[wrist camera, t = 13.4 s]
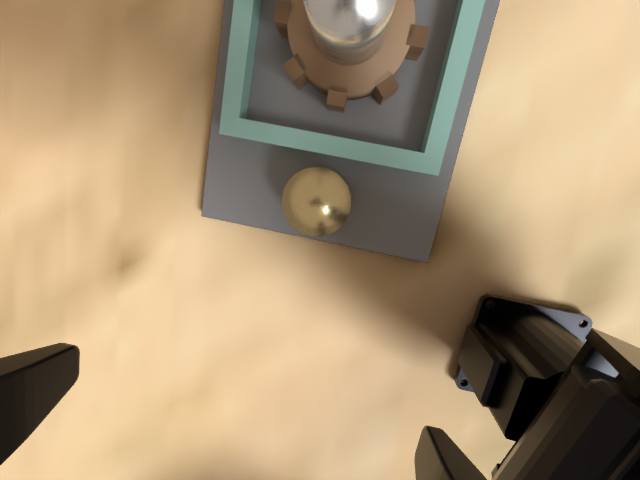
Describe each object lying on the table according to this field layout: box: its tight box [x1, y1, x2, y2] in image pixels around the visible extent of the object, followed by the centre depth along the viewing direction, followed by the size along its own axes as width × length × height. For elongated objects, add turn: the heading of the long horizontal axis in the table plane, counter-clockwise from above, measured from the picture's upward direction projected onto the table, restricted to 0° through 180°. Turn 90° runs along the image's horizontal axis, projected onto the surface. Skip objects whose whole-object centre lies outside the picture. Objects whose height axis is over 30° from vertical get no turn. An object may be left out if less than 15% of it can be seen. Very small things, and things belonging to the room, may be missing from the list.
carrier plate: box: [201, 0, 500, 263], centre depth 17 cm, size 14×18×3 cm
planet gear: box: [273, 0, 430, 113], centre depth 15 cm, size 7×7×6 cm
